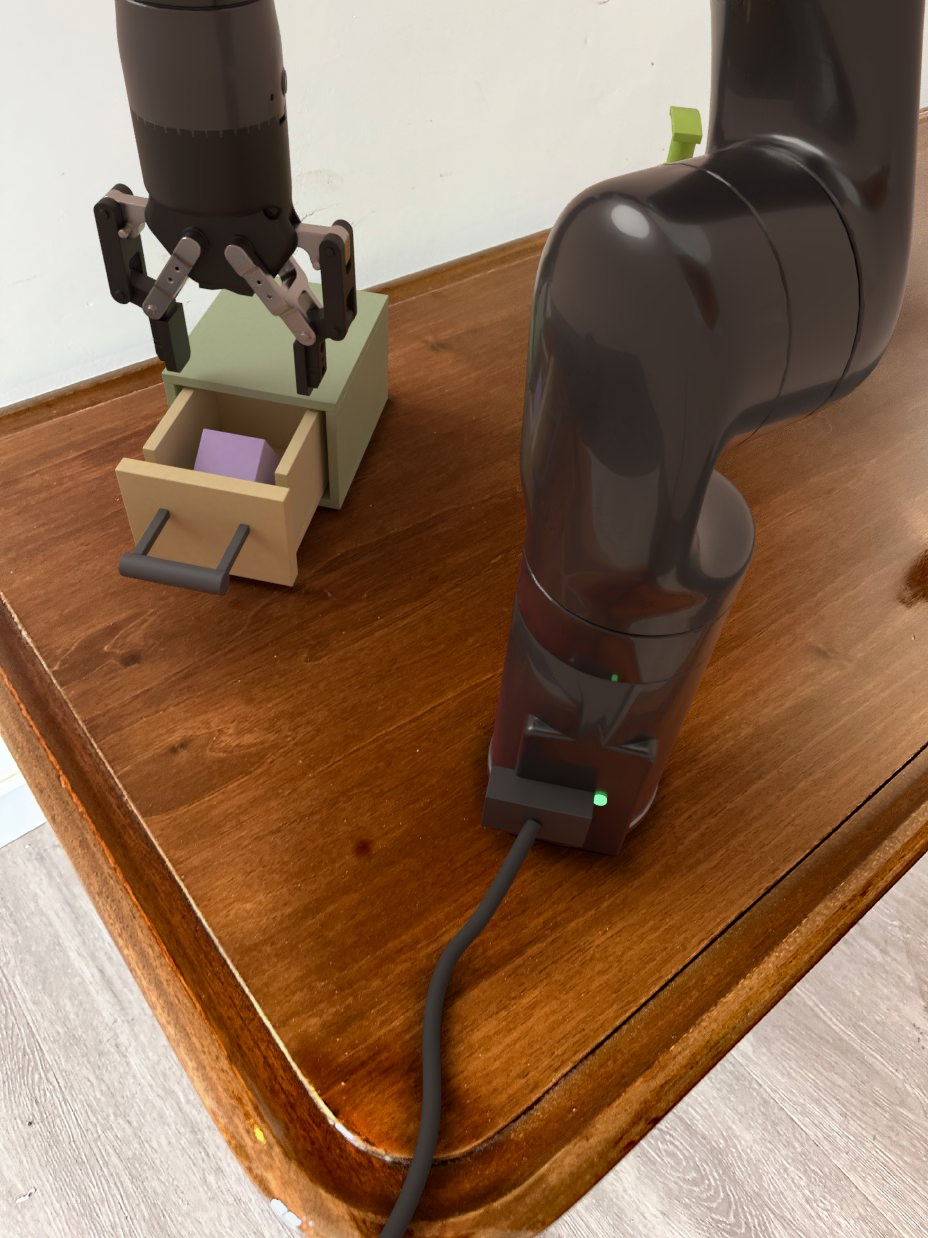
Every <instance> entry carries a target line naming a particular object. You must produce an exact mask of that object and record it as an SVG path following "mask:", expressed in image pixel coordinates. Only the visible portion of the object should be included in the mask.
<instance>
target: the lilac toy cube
mask: <svg viewBox="0 0 928 1238" xmlns="http://www.w3.org/2000/svg"><path fill="white" fill-rule="evenodd" d="M280 460H281V459H280V458H279V457H278V455H277V454H276V453H275V452H274V450H273V449H272V448H271V447H270V445H269V444H268V443H267V442H266V440H264V439H258V438H253V437H247V436H242V435H236V434H231V433H225V432H220V431H215V430H209V429H203V433H202V437H201V442H200V446H199V450H198V454H197V458H196V462H195V466H194V471H199V472H204V473H210V474H215V475H220V476H226V477H231V478H237V479H242V480H247V481H253V482H258V483H263V484H269V485H274V486H275V471H276V469H277V467H278V465H279V463H280Z"/></svg>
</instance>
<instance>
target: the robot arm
mask: <svg viewBox="0 0 928 1238" xmlns="http://www.w3.org/2000/svg"><path fill="white" fill-rule="evenodd" d="M709 7H710V8H709V9H710V10H709V11H710V56H711V57H710V90H709V92H710V93H709V96H710V97H709V109H708V110H709V111H708V124H707V125H708V127H707V136H706V143H705V144H706V146H705V150H704V154H702V155H698V156H693V158H689V159H685V160H681V161H676V162H672V163H668V164H664V165H660V164H658V165H659V166H657V165H655V166H652V167H647V168H644V169H641V170H640V169H639V170H636V171H631V172H628V173H624V174H621V175H618V176H617V175H616V176H613V177H610V178H607V179H604V180H601V181H599V182H597V183H594V184H592V185H590V186H588V187H585V188H584V189H583V190H582V191H580V192H579V193H578V194H576V195H575V197H573V198H572V199H571V200H570V201H569V202H568V203H567V204H566V205H565V207H564V208H563V209H562V211H561V212H560V213H559V214H558V217H557V219H556V220H555V222H554V224H553V226H552V227H551V229H550V232H549V234H548V237H547V239H546V241H545V244H544V247H543V249H542V252H541V256H540V259H539V263H538V266H537V269H536V274H535V279H534V286H533V291H532V298H531V305H530V315H529V316H530V317H529V325H528V335H527V336H528V339H527V353H526V367H525V384H524V394H523V395H524V397H523V409H522V423H521V432H520V433H521V434H520V443H519V444H520V445H519V446H520V447H519V477H520V485H521V493H522V499H523V502H524V503H523V504H524V510H525V518H526V523H525V531H524V532H525V533H524V539H523V545H522V551H521V559H520V565H519V570H518V577H517V581H516V587H515V594H514V599H513V605H512V612H511V617H510V618H511V619H510V624H509V631H508V637H507V643H506V648H505V649H506V650H505V655H504V661H503V662H504V663H503V668H502V675H501V680H500V688H499V694H498V700H497V706H496V713H495V719H494V727H493V734H492V736H491V738H490V742H489V745H488V746H489V747H488V753H487V759H486V772H487V774H486V775H487V779H488V780H487V781H488V782H487V787H486V792H485V796H484V803H483V809H482V815H481V820H480V826H481V827H486V828H490V829H495V830H500V831H504V832H505V833H507V834H511V835H515V836H517V837H516V839H515V840H514V842H513V843H512V846H511V848H510V850H509V851H508V853H507V856H506V857H505V859H504V861H503V863H502V865H501V867H500V868H499V870H498V872H497V874H496V875H495V878H494V879H493V880H492V883H491V884H490V886H489V888H488V890H487V892H486V893H485V895H484V896H483V897H482V900H481V901H480V902H479V905H478V906H477V907H476V909H475V910H474V912H473V913H472V915H471V916H470V917H469V919H468V920H467V921H466V922H465V923H464V925H462V927H461V928H460V929H459V931H457V933H456V934H455V935H454V936H453V937H452V938H451V940H450V941H449V942H448V944H447V945H446V946H445V948H444V950H443V951H442V953H441V954H440V956H439V958H438V960H437V963H436V965H435V968H434V970H433V973H432V977H431V980H430V983H429V985H428V989H427V993H426V994H427V995H426V998H425V1003H424V1011H423V1018H422V1021H423V1022H422V1033H421V1034H422V1035H421V1036H422V1037H421V1041H422V1042H421V1048H422V1050H421V1051H422V1052H421V1053H422V1055H421V1056H422V1101H421V1102H422V1103H421V1116H420V1125H419V1130H418V1136H417V1141H416V1145H415V1149H414V1152H413V1156H412V1160H411V1163H410V1166H409V1168H408V1172H407V1174H406V1178H405V1180H404V1182H403V1185H402V1188H401V1191H400V1193H399V1195H398V1198H397V1199H396V1202H395V1204H394V1206H393V1209H392V1211H391V1213H390V1214H389V1216H388V1219H387V1221H386V1223H385V1225H384V1227H383V1229H382V1230H381V1232H380V1233H379V1235H378V1237H377V1238H403V1237H404V1236H405V1234H406V1232H407V1229H408V1227H409V1226H410V1223H411V1222H412V1220H413V1217H414V1215H415V1212H416V1210H417V1207H418V1205H419V1203H420V1200H421V1197H422V1195H423V1192H424V1190H425V1187H426V1184H427V1181H428V1178H429V1175H430V1172H431V1169H432V1166H433V1162H434V1157H435V1154H436V1150H437V1145H438V1138H439V1133H440V1124H441V1116H442V1115H441V1114H442V1065H441V1063H442V1061H441V1060H442V1059H441V1028H442V1026H441V1025H442V1024H441V1023H442V1015H443V1008H444V1003H445V997H446V994H447V989H448V987H449V983H450V980H451V977H452V974H453V972H454V969H455V967H456V965H457V964H458V962H459V960H460V959H461V957H462V956H463V954H464V953H465V952H466V951H467V949H468V948H469V947H470V946H471V945H472V944H473V942H474V941H475V940H476V939H477V938H478V937H479V936H480V935H481V934H482V932H483V931H484V930H485V928H486V927H487V926H488V924H489V923H490V921H491V920H492V918H493V917H494V915H495V913H496V912H497V910H498V909H499V907H500V905H501V904H502V903H503V901H504V899H505V897H506V895H507V893H508V892H509V890H510V888H511V886H512V884H513V883H514V881H515V879H516V877H517V875H518V874H519V871H520V870H521V868H522V866H523V864H524V863H525V860H526V858H527V857H528V854H529V852H530V850H531V848H532V847H533V845H534V843H535V841H536V840H538V841H543V842H547V843H550V844H553V845H557V846H562V847H567V848H576V849H581V850H585V851H590V852H595V853H599V854H604V855H609V856H618V855H619V853H620V851H621V849H622V847H623V844H624V841H625V839H626V837H627V835H628V834H630V833H631V832H632V831H634V830H635V829H636V828H637V827H638V826H639V825H640V824H641V823H642V822H643V820H644V819H645V817H646V816H647V815H648V812H649V811H650V809H651V807H652V805H653V802H654V800H655V797H656V795H657V792H658V788H659V783H660V781H661V778H662V776H663V773H664V771H665V769H666V766H667V763H668V760H669V758H670V756H671V753H672V752H673V748H674V746H675V744H676V741H677V740H678V737H679V734H680V732H681V730H682V728H683V724H684V723H685V720H686V718H687V715H688V713H689V710H690V708H691V706H692V703H693V701H694V698H695V697H696V694H697V692H698V689H699V687H700V684H701V682H702V679H703V677H704V674H705V673H706V670H707V669H708V665H709V663H710V660H711V658H712V656H713V653H714V651H715V649H716V646H717V644H718V641H719V639H720V637H721V635H722V633H723V631H724V629H725V626H726V623H727V622H728V619H729V617H730V616H729V615H730V614H731V612H732V609H733V606H734V605H735V602H736V599H737V597H738V596H739V593H740V590H741V589H742V586H743V584H744V581H745V579H746V576H747V574H748V571H749V569H750V566H751V564H752V560H753V559H754V558H753V557H754V553H755V550H756V542H757V541H756V540H757V530H756V524H755V523H756V522H755V519H754V516H753V512H752V509H751V507H750V504H749V503H748V501H747V499H746V498H745V496H744V495H743V494H742V492H741V491H740V490H739V488H738V487H737V486H736V485H735V483H734V482H733V481H732V480H731V479H729V477H727V476H726V475H725V474H724V473H723V472H722V471H720V470H719V469H718V468H716V466H717V463H718V462H719V460H720V458H721V456H722V454H723V453H725V452H727V451H729V450H732V449H734V448H737V447H739V446H741V445H743V444H747V443H749V442H752V441H753V440H756V439H758V438H760V437H763V436H766V435H768V434H770V433H774V432H775V431H778V430H781V429H783V428H785V427H787V426H790V425H793V424H795V423H797V422H801V421H803V420H805V419H807V418H810V417H812V416H814V415H816V414H818V413H820V412H822V411H824V410H827V409H828V408H830V407H832V406H834V405H836V404H837V403H839V402H840V401H841V400H844V399H845V398H846V397H848V395H850V394H852V393H853V392H854V391H855V390H857V388H859V386H861V385H862V384H863V383H864V382H865V381H866V380H867V379H868V378H869V376H870V375H871V374H872V372H873V371H874V370H875V369H876V367H877V366H878V364H879V363H880V361H881V359H882V358H883V356H884V354H885V353H886V351H887V349H888V347H889V345H890V343H891V340H892V338H893V336H894V333H895V330H896V327H897V324H898V321H899V318H900V315H901V313H902V312H901V311H902V308H903V303H904V298H905V294H906V289H907V283H908V279H909V278H908V277H909V270H910V263H911V255H912V246H913V245H912V244H913V233H914V220H915V206H916V189H917V169H918V168H917V167H918V148H919V147H918V146H919V131H920V130H919V129H920V109H921V89H922V88H921V87H922V70H923V69H922V68H923V47H924V29H925V27H924V26H925V13H926V0H709ZM114 9H115V28H116V29H115V30H116V40H117V48H118V53H119V59H120V64H121V70H122V76H123V79H124V85H125V90H126V96H127V101H128V107H129V113H130V117H131V122H132V123H131V124H132V129H133V133H134V134H133V135H134V139H135V144H136V149H137V154H138V160H139V166H140V171H141V176H142V182H143V186H144V188H145V190H146V193H148V197H144V196H139V195H135V194H134V193H133V191H132V189H131V188H130V187H129V186H128V185H127V184H125V183H119V182H118V183H116V184H114V185H113V186H112V187H111V189H109V190H108V192H107V193H105V194H104V195H103V196H102V197H101V198H100V199H99V200H98V201H97V202H96V203H95V204H94V206H93V210H92V212H93V216H94V220H95V226H96V230H97V236H98V240H99V245H100V250H101V254H102V259H103V265H104V269H105V273H106V279H107V283H108V288H109V293H110V296H111V298H112V299H113V300H114V301H115V303H118V304H121V305H128V304H129V303H131V304H132V305H135V306H137V307H139V308H140V309H142V311H143V314H145V316H146V317H147V318H148V322H149V327H150V331H151V335H152V340H153V345H154V351H155V355H156V356H157V357H158V359H159V361H160V362H164V365H165V368H166V369H167V371H171V372H176V373H180V372H181V371H182V370H183V368H184V367H185V365H186V364H187V363H188V361H189V359H190V356H191V349H190V343H189V338H188V336H189V332H188V327H187V321H186V315H185V310H184V304H183V302H179V301H177V297H178V296H179V294H180V293H181V292H182V291H183V288H184V287H185V285H186V284H187V282H188V281H189V279H190V280H191V281H193V282H195V283H196V284H198V288H199V289H203V290H209V291H217V290H218V291H219V290H220V291H221V290H222V289H226V290H229V291H231V292H234V293H236V294H239V295H244V296H250V297H253V295H254V294H255V293H256V294H257V296H258V297H259V298H260V300H261V301H262V302H263V304H264V305H265V306H266V308H267V309H268V310H269V312H270V313H271V314H272V315H274V316H279V317H280V318H281V319H282V320H283V322H284V323H285V324H286V325H287V327H288V328H289V329H290V331H291V332H292V333H293V335H294V336H295V337H296V340H295V341H294V343H293V352H294V365H295V377H296V390H297V394H299V395H305V396H310V395H311V393H312V391H313V389H314V388H316V389H318V387H319V385H320V383H321V381H322V379H323V377H324V375H325V373H326V370H327V362H326V360H327V359H326V340H325V339H328V338H330V339H332V340H334V341H342V340H343V339H344V338H345V336H346V334H347V332H348V329H349V327H350V325H351V323H352V321H353V320H354V319H355V317H356V315H357V296H356V290H357V278H356V277H357V276H356V259H355V239H354V229H353V226H352V225H351V223H350V222H349V221H348V220H346V219H343V218H341V219H340V218H339V219H336V220H334V221H333V222H332V224H331V225H330V226H327V225H319V224H313V223H305V222H302V219H301V218H300V216H299V215H298V212H297V211H296V209H295V206H294V201H293V180H292V177H293V176H292V163H291V151H290V149H291V148H290V138H289V136H290V135H289V125H288V122H289V121H288V109H287V107H288V106H287V94H288V92H287V91H288V76H287V70H286V69H285V65H284V54H283V43H282V36H281V29H280V25H279V20H278V15H277V14H278V13H277V9H276V4H275V0H114ZM146 226H147V227H148V229H149V231H150V232H151V233H152V234H153V236H154V237H155V238H156V239H157V241H158V242H159V243H160V244H161V246H162V247H163V248H164V250H165V251H166V252H167V253H168V255H169V256H170V257H169V258H168V260H167V262H166V264H165V265H164V267H163V268H162V270H161V271H160V272H159V275H158V276H157V278H154V277H151V276H150V275H148V270H147V264H146V258H145V253H144V248H143V241H142V236H141V233H142V232H143V231H144V229H145V228H146ZM297 248H300V249H302V250H303V251H305V252H306V253H307V255H308V257H309V261H310V263H311V266H312V269H313V270H314V271H320V282H321V283H320V284H322V296H323V306H322V304H321V303H320V302H319V300H318V299H317V297H316V296H315V295H314V293H313V292H312V291H311V289H310V288H309V285H308V282H309V279H308V276H307V274H306V273H305V271H304V270H303V268H302V267H301V266H300V264H299V263H298V262H297V260H296V258H294V256H293V255H294V253H295V252H296V251H297ZM276 276H277V277H280V279H281V287H280V286H279V285H278V284H277V282H276V281H275V280H274V278H275V277H276Z"/></svg>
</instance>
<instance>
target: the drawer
mask: <svg viewBox="0 0 928 1238" xmlns="http://www.w3.org/2000/svg"><path fill="white" fill-rule="evenodd" d="M203 429H209V430H215V431H220V432H225V433H231V434H236V435H242V436H247V437H253V438H258V439H264V440H266V442H267V443H268V444H269V445H270V447H271V448H272V449H273V450H274V452H275V453H276V454H277V455H278V457H279V458H280V459H281V460H280V463H279V465H278V467H277V469H276V471H275V486H274V485H269V484H263V483H258V482H253V481H247V480H242V479H237V478H231V477H226V476H220V475H215V474H210V473H204V472H199V471H194V466H195V462H196V458H197V454H198V450H199V446H200V442H201V437H202V433H203ZM142 453H143V457H144V460H140V459H135V458H129V457H122V459H121V460H120V461H119V463H118V465H117V466H116V467H115V469H114V471H115V476H116V480H117V482H118V486H119V491H120V494H121V497H122V501H123V504H124V508H125V512H126V515H127V520H128V522H129V528H130V530H131V534H132V538H133V541H134V545H135V547H134V549H133V550H132V552H129V551H126V552H124V553H123V554H122V555H121V557H120V559H119V562H118V573H119V575H120V576H121V577H125V578H130V579H136V580H139V581H144V582H150V583H154V584H160V585H164V586H165V585H166V586H170V587H175V588H180V589H184V590H191V591H195V592H199V593H205V594H211V595H216V596H221V597H223V596H225V595H226V593H227V591H228V590H229V586H230V575H231V576H237V577H241V578H245V579H246V578H247V579H251V580H256V581H262V582H266V583H271V584H272V583H273V584H278V585H281V586H282V585H283V586H287V587H293V586H294V584H295V582H296V579H297V577H298V575H299V571H298V560H297V559H298V558H297V552H298V549H299V548H300V546H301V544H302V541H303V539H304V536H305V535H306V532H307V530H308V528H309V526H310V524H311V521H312V519H313V517H314V514H315V512H316V510H317V509H318V507H319V506H318V504H319V501H320V499H321V497H322V495H323V493H324V490H325V488H326V486H327V484H328V482H329V466H328V447H327V428H326V411H322V410H316V409H311V408H305V407H299V406H294V405H288V404H283V403H277V402H271V401H266V400H260V399H255V398H249V397H244V396H238V395H232V394H227V393H221V392H216V391H210V390H204V389H199V388H193V387H188V386H184V388H183V389H182V391H181V392H180V394H179V395H178V397H177V398H176V399H175V401H174V402H173V404H172V405H171V407H170V408H169V407H168V410H167V411H166V413H165V414H164V415H163V417H162V418H161V420H160V422H158V424H157V425H156V427H155V428H154V430H153V431H152V433H151V435H150V436H149V438H147V440H146V442H145V443H144V445H143V447H142Z"/></svg>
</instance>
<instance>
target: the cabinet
mask: <svg viewBox="0 0 928 1238" xmlns="http://www.w3.org/2000/svg"><path fill="white" fill-rule="evenodd" d="M274 280H275V281H276V282H277V284H278V285H279V286H280V287H281V279H280V277H279V276H278V275H277V276H276V277H275V278H274ZM308 285H309V288H310V289H311V291H312V292H313V293H314V295H315V296H316V297H317V299H318V300H319V302H320V303H321V304H322V306H323V296H322V284H321V283H318V282H312V281H308ZM356 296H357V315H356V317H355V319H354V320H353V321H352V323H351V325H350V327H349V329H348V332H347V334H346V336H345V338H344V339H343V340H342V341H334V340H332V339H330V338H328V339H325V340H326V359H327V360H326V362H327V370H326V373H325V375H324V377H323V379H322V381H321V383H320V385H319V387H318V389H316V388H314V389H313V391H312V393H311V395H310V396H305V395H299V394H297V390H296V377H295V365H294V352H293V343H294V341H295V340H296V337H295V336H294V335H293V333H292V332H291V331H290V329H289V328H288V327H287V325H286V324H285V323H284V322H283V320H282V319H281V318H280V317H279V316H274V315H272V314H271V313H270V312H269V310H268V309H267V308H266V306H265V305H264V304H263V302H262V301H261V300H260V298H259V297H258V296H257V294H256V293H255V294H254V295H253V297H250V296H244V295H239V294H236V293H234V292H231V291H229V290H226V289H220V291H219V292H218V294H217V295H216V297H215V298H214V299H213V301H212V302H211V304H210V305H209V306H208V307H207V309H206V311H204V313H203V315H202V316H201V318H200V319H199V321H198V322H197V323H196V324H195V326H194V327H193V328H192V330H191V331H190V333H188V338H189V343H190V349H191V356H190V359H189V361H188V363H187V364H186V365H185V367H184V368H183V370H182V371H181V372H180V373H176V372H171V371H167V369H166V367H165V368H164V369H163V370H162V371H161V378H162V382H163V386H164V391H165V396H166V401H167V406H168V409H169V408H170V407H171V405H172V404H173V402H174V401H175V399H176V398H177V397H178V395H179V394H180V392H181V391H182V389H183V388H184V386H188V387H193V388H199V389H204V390H210V391H216V392H221V393H227V394H232V395H238V396H244V397H249V398H255V399H260V400H266V401H271V402H277V403H283V404H288V405H294V406H299V407H305V408H311V409H316V410H322V411H326V428H327V447H328V466H329V482H328V484H327V486H326V488H325V490H324V493H323V495H322V497H321V499H320V501H319V504H318V506H317V507H323V508H329V509H334V510H341V509H342V506H343V504H344V501H345V499H346V498H347V497H346V496H347V494H348V492H349V490H350V487H351V485H352V482H353V480H354V478H355V475H356V473H357V471H358V469H359V467H360V464H361V462H362V460H363V457H364V455H365V452H366V450H367V448H368V446H369V443H370V441H371V439H372V436H373V435H374V432H375V429H376V427H377V424H378V422H379V420H380V418H381V416H382V413H383V411H384V408H385V407H386V404H387V401H388V399H389V392H388V391H389V304H390V302H389V301H390V297H389V294H382V293H377V292H371V291H366V290H360V289H356Z"/></svg>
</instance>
